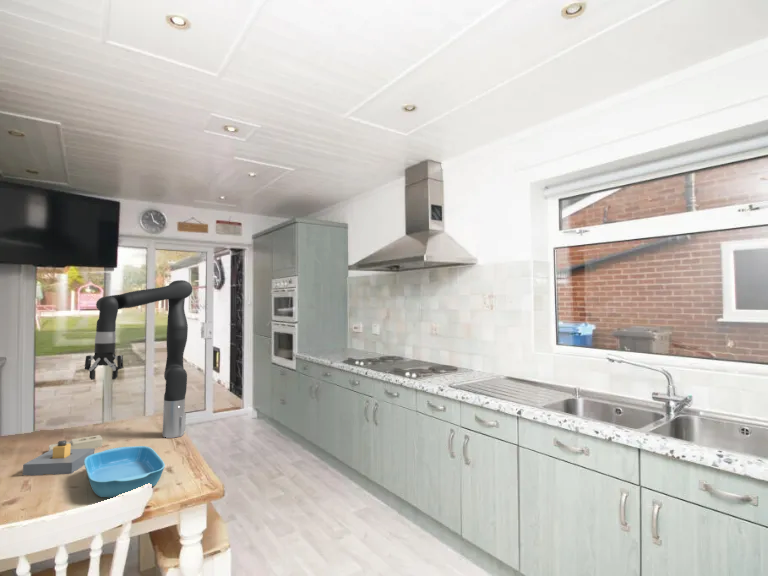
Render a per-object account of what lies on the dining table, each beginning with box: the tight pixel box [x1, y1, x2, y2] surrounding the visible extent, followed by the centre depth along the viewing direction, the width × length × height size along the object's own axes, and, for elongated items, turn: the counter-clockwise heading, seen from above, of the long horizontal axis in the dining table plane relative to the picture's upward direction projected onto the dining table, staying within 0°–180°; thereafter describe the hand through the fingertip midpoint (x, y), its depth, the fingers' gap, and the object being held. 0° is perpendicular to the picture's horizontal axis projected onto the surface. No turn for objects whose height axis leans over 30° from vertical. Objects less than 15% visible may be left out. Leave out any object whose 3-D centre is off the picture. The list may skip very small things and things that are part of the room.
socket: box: [22, 448, 96, 476], centre depth 160 cm, size 16×16×4 cm
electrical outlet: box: [48, 434, 103, 451], centre depth 180 cm, size 7×4×18 cm
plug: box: [52, 440, 71, 459], centre depth 160 cm, size 4×4×8 cm
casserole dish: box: [84, 445, 166, 499], centre depth 148 cm, size 37×22×7 cm, turn 41°
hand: (103, 379), depth 181 cm, fingers open, 8 cm apart
